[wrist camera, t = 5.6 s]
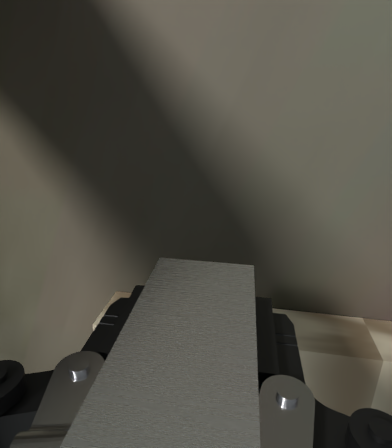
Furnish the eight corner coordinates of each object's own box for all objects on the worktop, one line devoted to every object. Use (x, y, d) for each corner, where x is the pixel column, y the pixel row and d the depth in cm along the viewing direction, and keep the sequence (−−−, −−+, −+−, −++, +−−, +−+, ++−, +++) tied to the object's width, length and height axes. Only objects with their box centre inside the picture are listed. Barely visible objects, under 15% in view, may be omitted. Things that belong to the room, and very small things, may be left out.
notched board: (127, 444, 31) (109, 492, 27) (116, 291, 25) (92, 324, 22) (467, 504, 27) (501, 569, 23) (544, 337, 21) (605, 388, 18)
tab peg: (161, 333, 14) (66, 598, 7) (160, 257, 13) (40, 483, 5) (246, 342, 14) (245, 638, 6) (253, 265, 12) (262, 523, 5)
